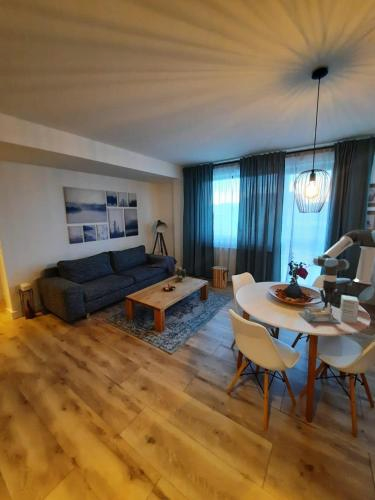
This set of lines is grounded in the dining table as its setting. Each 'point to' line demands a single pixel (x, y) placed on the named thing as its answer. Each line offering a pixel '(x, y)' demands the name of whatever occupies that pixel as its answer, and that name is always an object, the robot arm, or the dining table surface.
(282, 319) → the dining table surface
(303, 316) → the base plate
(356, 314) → the supplement box
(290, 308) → the dining table surface
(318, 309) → the strap
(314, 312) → the strap
